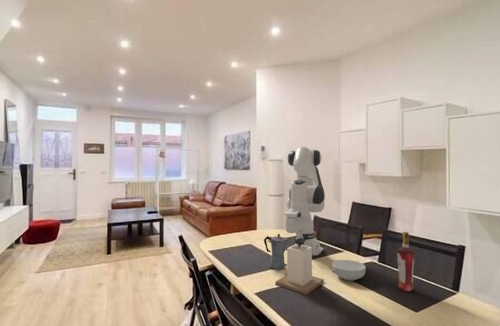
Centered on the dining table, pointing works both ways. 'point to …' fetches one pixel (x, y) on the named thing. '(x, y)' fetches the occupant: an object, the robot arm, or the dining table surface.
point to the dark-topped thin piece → (299, 242)
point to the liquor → (405, 265)
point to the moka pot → (277, 251)
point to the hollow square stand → (299, 271)
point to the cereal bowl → (349, 269)
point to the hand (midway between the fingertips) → (299, 238)
